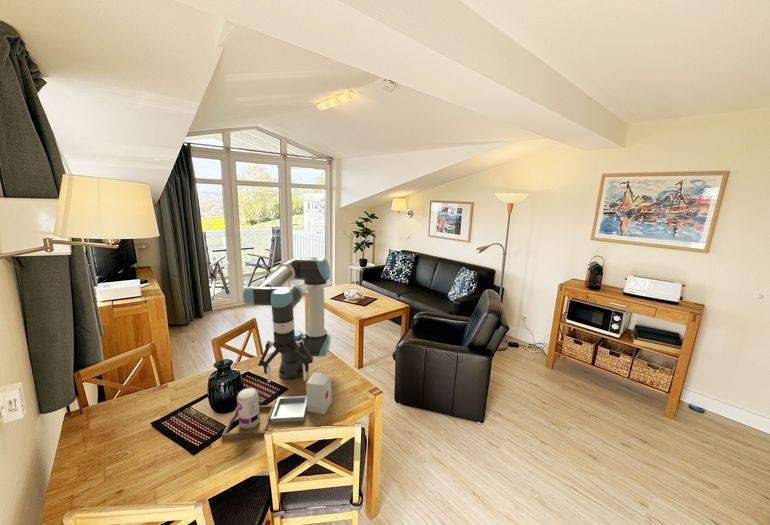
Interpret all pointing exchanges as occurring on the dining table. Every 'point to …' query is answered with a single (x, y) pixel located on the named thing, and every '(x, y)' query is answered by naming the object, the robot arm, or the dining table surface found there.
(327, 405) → the supplement box
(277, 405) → the tray
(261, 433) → the wooden frame
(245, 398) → the supplement can
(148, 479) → the dining table surface
